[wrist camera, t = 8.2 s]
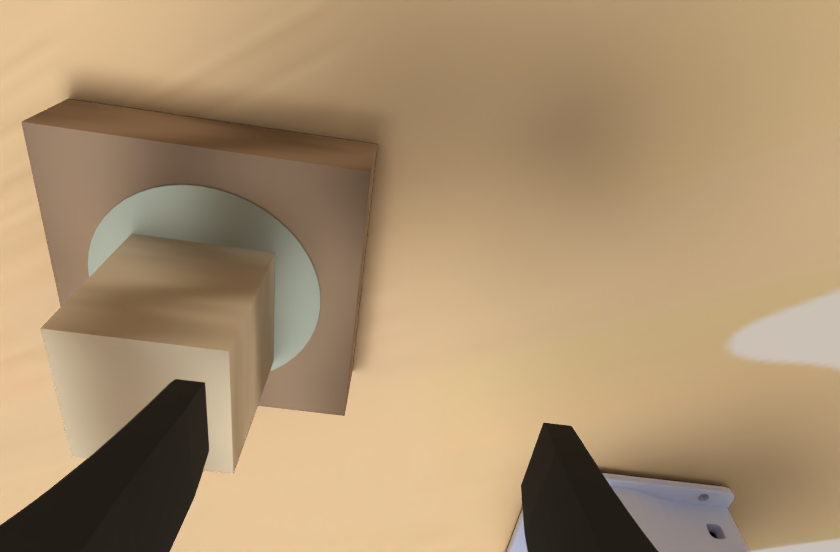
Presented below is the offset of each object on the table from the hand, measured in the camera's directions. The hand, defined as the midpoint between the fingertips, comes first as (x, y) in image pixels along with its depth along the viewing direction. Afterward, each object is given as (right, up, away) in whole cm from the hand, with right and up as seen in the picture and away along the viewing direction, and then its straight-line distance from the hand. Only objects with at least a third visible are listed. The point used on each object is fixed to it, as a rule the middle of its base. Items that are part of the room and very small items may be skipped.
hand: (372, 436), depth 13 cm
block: (-6, +3, +7) cm, 10 cm away
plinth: (-6, +4, +9) cm, 12 cm away
